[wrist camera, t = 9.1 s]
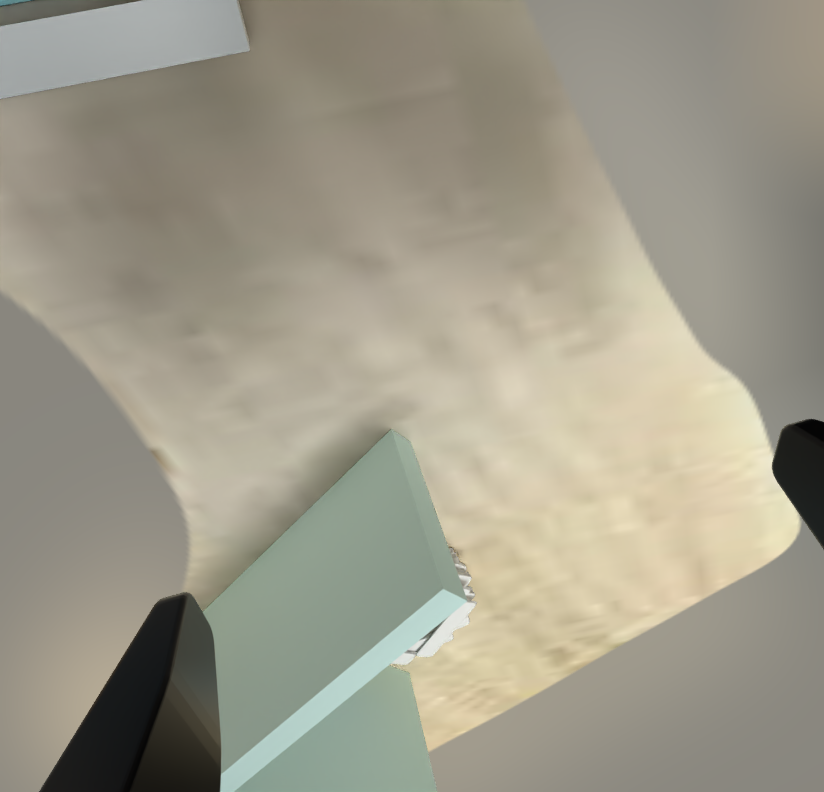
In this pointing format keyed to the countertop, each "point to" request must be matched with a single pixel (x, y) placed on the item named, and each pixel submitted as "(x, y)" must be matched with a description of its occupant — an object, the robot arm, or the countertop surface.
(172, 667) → the robot arm
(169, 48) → the acrylic wall
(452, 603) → the l-shaped corner panel
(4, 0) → the teal mat
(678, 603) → the countertop surface
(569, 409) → the countertop surface
